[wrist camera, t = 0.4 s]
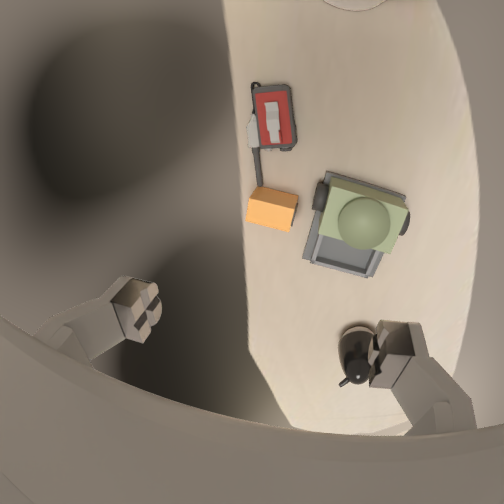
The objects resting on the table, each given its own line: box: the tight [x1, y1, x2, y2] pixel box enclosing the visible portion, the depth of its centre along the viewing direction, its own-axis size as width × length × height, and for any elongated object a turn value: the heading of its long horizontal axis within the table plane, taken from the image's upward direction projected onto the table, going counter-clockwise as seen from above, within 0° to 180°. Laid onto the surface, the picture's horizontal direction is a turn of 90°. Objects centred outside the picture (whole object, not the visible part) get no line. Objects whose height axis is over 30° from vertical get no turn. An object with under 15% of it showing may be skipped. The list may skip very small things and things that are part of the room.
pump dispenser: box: [338, 327, 374, 387], centre depth 62 cm, size 10×10×15 cm
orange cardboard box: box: [245, 186, 298, 232], centre depth 53 cm, size 4×8×7 cm, turn 81°
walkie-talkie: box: [246, 82, 297, 187], centre depth 47 cm, size 9×4×20 cm
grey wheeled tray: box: [302, 171, 410, 278], centre depth 51 cm, size 19×18×9 cm
